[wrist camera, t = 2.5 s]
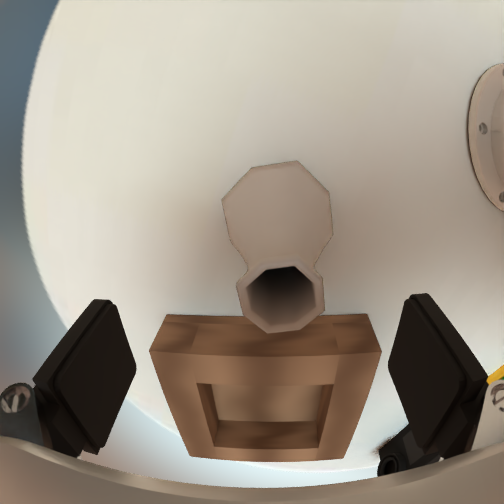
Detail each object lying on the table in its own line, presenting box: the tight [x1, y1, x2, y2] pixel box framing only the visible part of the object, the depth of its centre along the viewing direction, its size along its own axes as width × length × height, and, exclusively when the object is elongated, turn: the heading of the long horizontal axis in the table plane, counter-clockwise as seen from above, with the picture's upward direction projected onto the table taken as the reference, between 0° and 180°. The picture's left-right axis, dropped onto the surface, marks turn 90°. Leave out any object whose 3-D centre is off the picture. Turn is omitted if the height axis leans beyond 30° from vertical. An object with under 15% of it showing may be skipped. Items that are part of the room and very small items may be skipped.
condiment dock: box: [149, 314, 382, 462], centre depth 24 cm, size 16×16×4 cm
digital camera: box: [377, 424, 441, 477], centre depth 27 cm, size 10×5×7 cm, turn 161°
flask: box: [222, 161, 333, 334], centre depth 15 cm, size 7×7×10 cm
